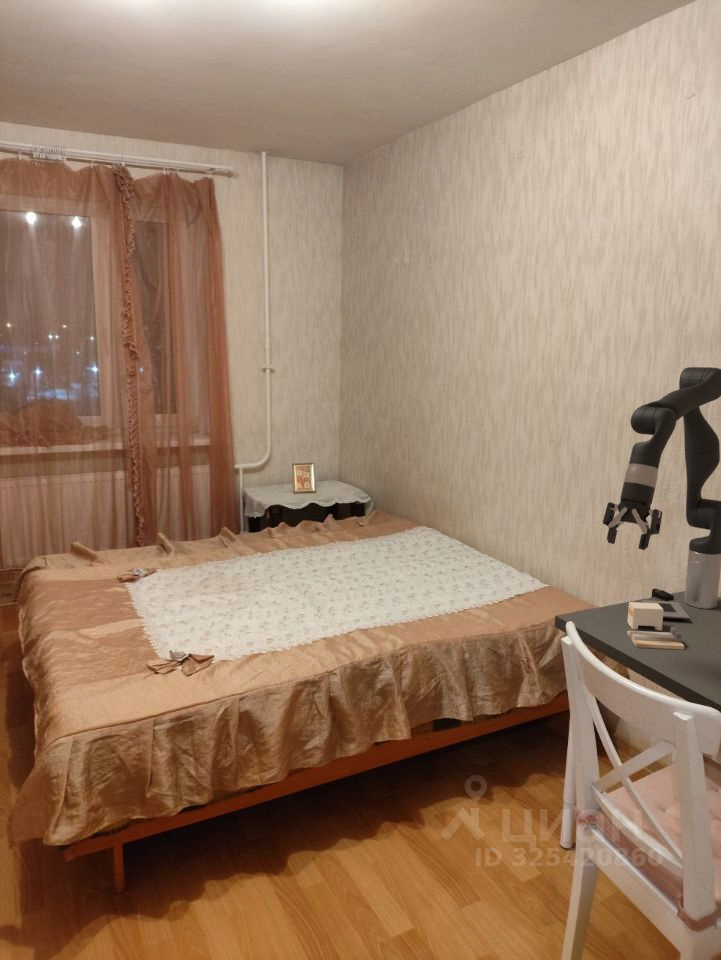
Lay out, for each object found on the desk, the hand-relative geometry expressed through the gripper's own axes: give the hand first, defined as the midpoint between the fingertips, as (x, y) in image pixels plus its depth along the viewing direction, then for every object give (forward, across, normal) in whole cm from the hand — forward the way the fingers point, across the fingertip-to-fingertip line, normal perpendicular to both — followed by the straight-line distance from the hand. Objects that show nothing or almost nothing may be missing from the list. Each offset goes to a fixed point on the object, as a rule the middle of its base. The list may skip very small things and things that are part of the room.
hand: (625, 546), depth 171 cm
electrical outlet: (+17, +9, -43) cm, 47 cm away
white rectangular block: (+20, +7, -30) cm, 37 cm away
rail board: (+23, -1, -22) cm, 32 cm away
